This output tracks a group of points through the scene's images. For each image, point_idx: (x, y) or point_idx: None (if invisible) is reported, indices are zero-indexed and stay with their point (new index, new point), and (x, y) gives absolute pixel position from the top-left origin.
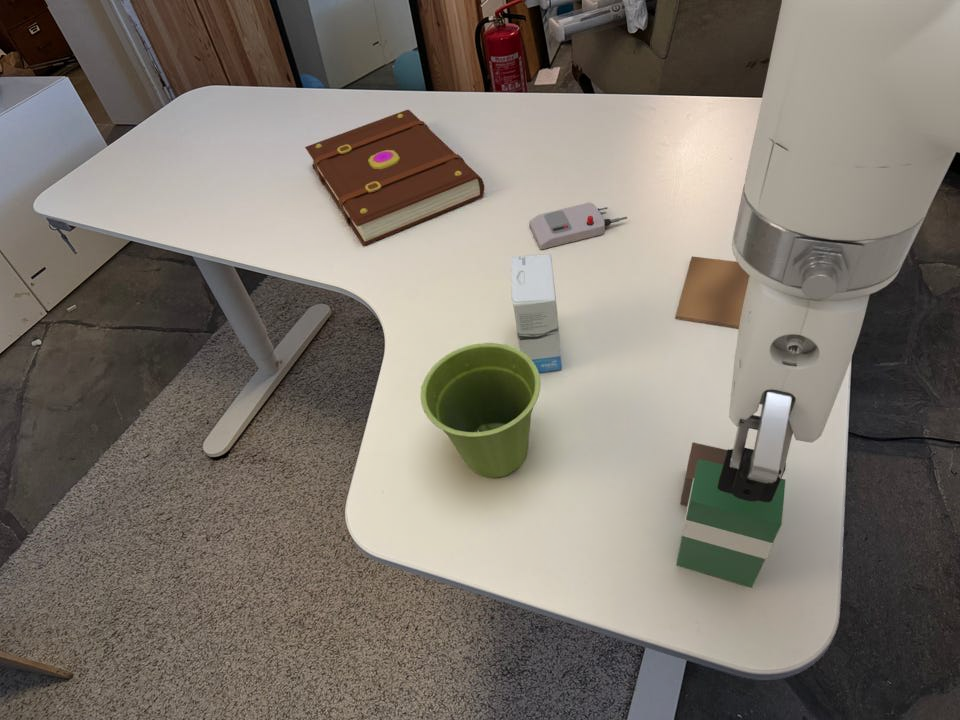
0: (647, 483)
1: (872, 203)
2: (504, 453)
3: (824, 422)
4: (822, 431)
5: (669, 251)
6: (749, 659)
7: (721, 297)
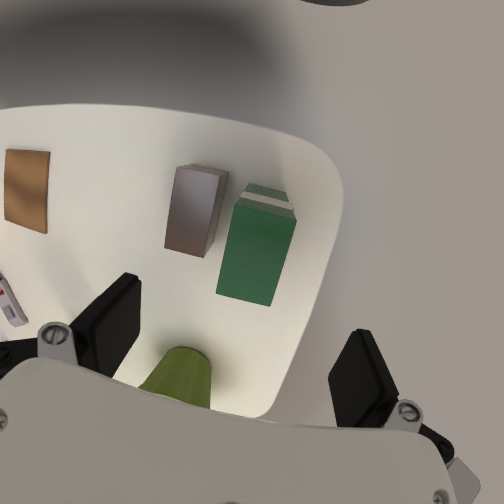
0: (197, 265)
1: None
2: (204, 383)
3: (455, 497)
4: (443, 464)
5: (4, 234)
6: (340, 204)
7: (27, 198)
